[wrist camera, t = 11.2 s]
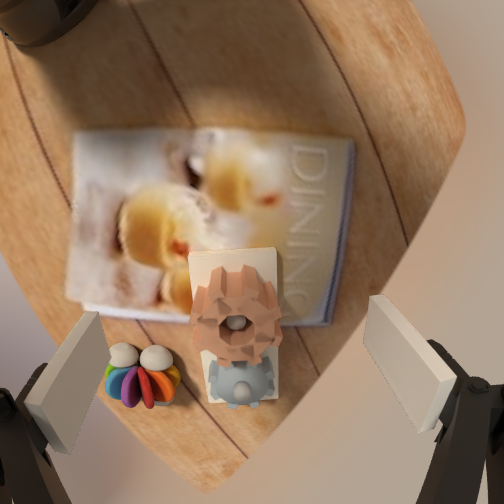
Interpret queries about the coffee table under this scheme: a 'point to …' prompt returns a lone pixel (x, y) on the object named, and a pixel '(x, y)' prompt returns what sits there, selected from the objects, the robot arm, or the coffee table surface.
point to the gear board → (235, 265)
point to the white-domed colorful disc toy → (141, 375)
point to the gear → (236, 303)
